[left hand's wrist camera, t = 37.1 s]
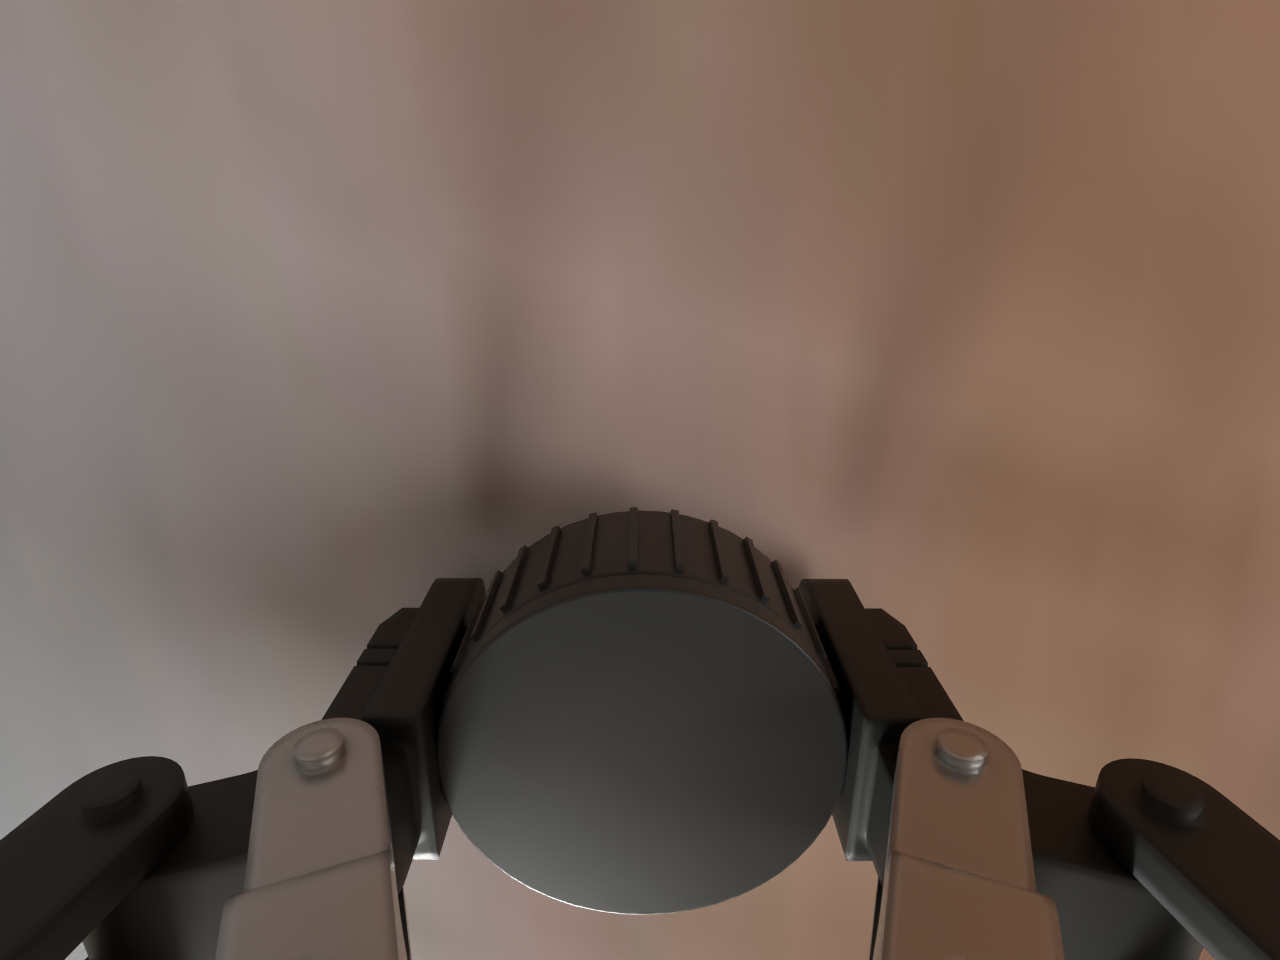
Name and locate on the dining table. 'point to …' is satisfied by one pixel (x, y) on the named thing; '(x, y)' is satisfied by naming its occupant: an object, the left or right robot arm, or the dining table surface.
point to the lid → (642, 717)
